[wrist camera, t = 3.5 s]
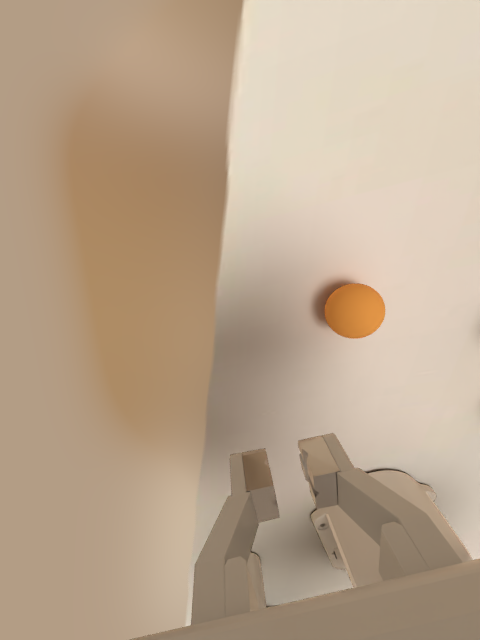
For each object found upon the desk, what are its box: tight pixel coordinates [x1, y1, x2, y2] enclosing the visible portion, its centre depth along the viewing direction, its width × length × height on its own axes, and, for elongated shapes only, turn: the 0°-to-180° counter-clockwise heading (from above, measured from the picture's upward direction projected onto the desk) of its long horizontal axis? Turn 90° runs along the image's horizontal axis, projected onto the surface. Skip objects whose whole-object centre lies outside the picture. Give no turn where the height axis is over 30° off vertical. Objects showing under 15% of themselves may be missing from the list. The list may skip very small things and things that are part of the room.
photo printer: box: [247, 552, 267, 610], centre depth 34 cm, size 10×4×12 cm, turn 163°
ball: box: [325, 284, 385, 338], centre depth 22 cm, size 5×5×5 cm
